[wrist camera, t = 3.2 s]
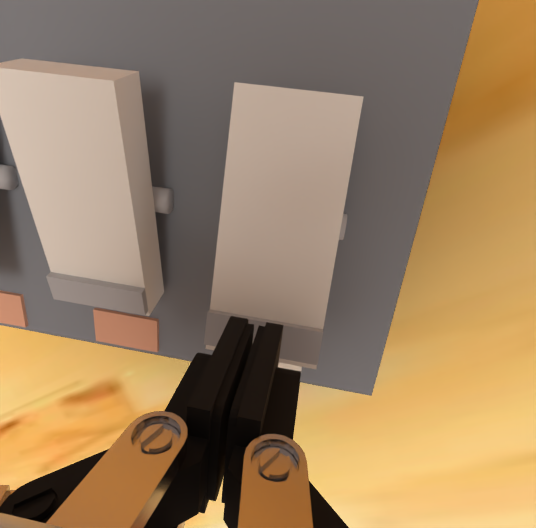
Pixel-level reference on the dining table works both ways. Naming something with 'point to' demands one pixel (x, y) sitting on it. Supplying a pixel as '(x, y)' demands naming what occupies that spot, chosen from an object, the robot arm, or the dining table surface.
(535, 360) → the dining table surface
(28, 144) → the rocker
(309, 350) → the rocker
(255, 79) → the switch unit
